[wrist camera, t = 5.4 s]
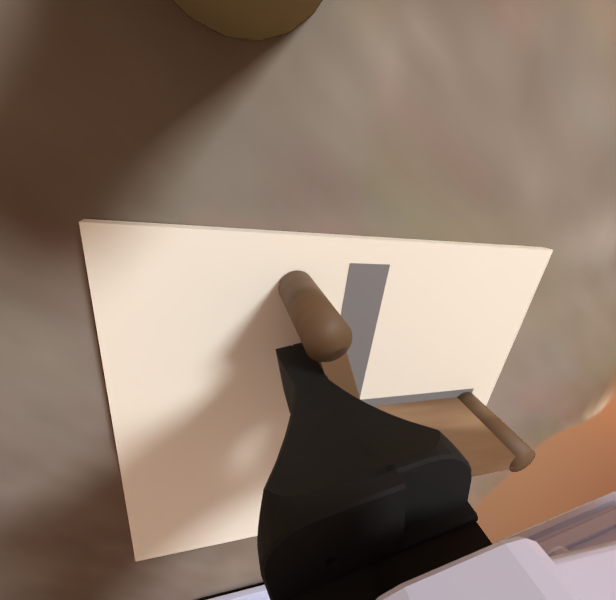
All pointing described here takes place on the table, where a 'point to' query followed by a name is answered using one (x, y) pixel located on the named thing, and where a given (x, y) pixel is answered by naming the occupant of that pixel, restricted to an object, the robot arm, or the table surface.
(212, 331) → the card
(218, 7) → the cork
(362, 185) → the table surface
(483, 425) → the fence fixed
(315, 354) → the fence gate
